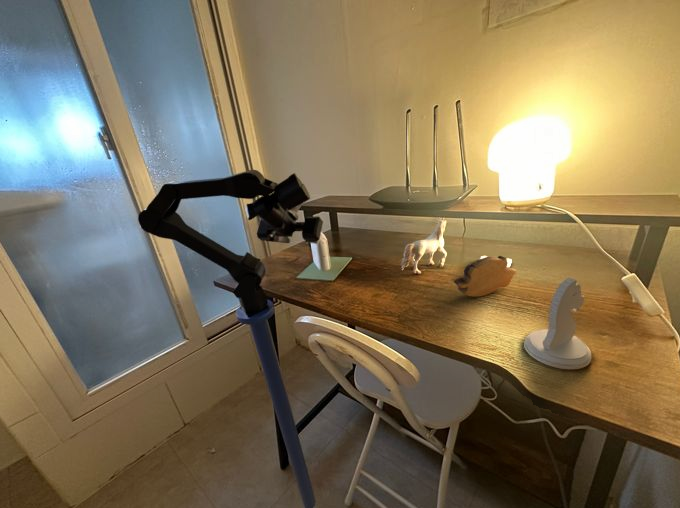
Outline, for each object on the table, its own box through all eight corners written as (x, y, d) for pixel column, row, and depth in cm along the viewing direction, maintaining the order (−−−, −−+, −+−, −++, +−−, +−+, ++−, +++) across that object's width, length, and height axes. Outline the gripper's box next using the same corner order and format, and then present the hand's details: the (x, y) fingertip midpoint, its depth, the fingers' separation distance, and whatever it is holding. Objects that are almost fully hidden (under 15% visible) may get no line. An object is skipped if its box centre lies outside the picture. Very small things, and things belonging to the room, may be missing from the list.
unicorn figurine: (457, 259, 95) (460, 217, 89) (419, 281, 85) (419, 236, 80) (437, 254, 101) (438, 215, 95) (399, 275, 91) (398, 232, 85)
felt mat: (332, 281, 93) (332, 280, 93) (296, 278, 99) (296, 277, 98) (352, 258, 107) (352, 257, 107) (319, 257, 113) (319, 256, 113)
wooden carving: (500, 280, 80) (504, 245, 75) (515, 287, 76) (521, 250, 72) (449, 298, 75) (451, 262, 71) (462, 306, 72) (465, 268, 67)
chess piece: (603, 355, 53) (629, 278, 46) (568, 378, 49) (591, 299, 43) (545, 328, 61) (560, 260, 54) (512, 346, 58) (523, 276, 51)
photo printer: (332, 269, 100) (327, 233, 95) (320, 272, 99) (314, 236, 94) (323, 259, 109) (318, 226, 104) (312, 262, 108) (306, 229, 103)
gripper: (314, 184, 73) (336, 216, 87) (252, 189, 81) (282, 218, 94) (304, 226, 70) (329, 252, 84) (241, 227, 78) (273, 250, 92)
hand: (302, 241), depth 88 cm, fingers open, 9 cm apart
